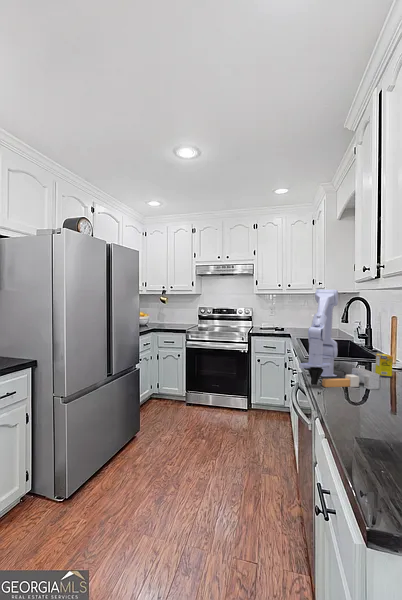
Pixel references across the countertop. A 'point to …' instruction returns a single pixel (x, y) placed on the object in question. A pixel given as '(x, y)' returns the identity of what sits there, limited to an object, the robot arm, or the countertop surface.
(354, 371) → the housing
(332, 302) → the robot arm
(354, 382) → the plug
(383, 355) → the supplement box
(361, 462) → the countertop surface
